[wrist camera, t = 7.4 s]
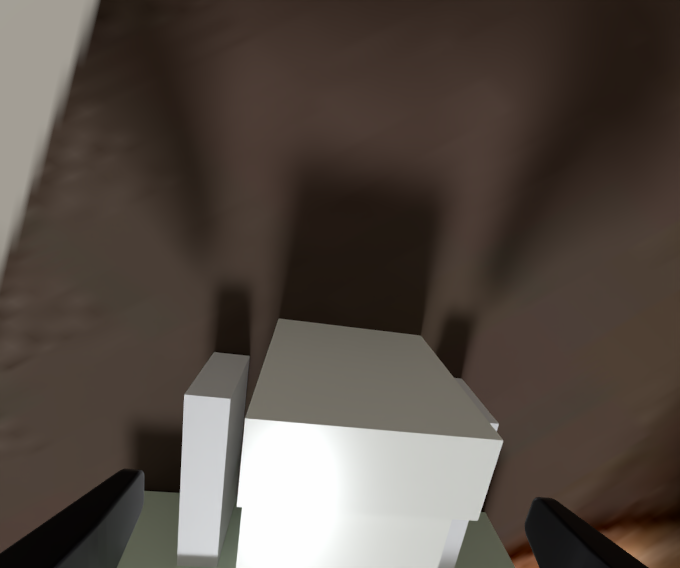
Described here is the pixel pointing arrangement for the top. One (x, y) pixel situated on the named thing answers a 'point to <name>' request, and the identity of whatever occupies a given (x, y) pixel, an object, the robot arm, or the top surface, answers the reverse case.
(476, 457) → the white lidded box
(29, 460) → the top surface
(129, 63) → the top surface
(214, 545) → the green block with prongs
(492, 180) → the top surface
